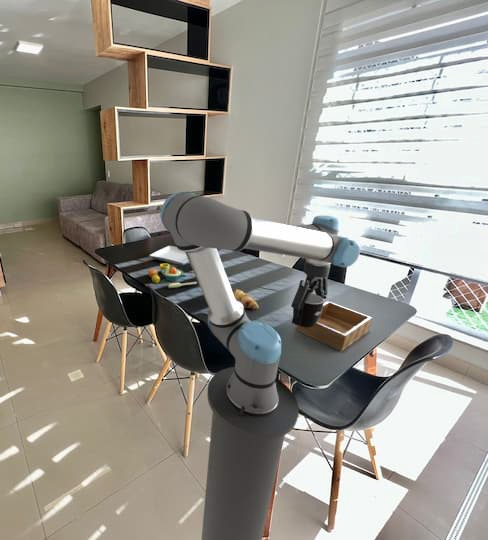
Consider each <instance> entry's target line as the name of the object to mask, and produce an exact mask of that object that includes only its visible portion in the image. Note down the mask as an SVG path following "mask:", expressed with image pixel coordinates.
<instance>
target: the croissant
mask: <svg viewBox="0 0 488 540" xmlns="http://www.w3.org/2000/svg"><path fill="white" fill-rule="evenodd" d="M232 292H233V294H234V297H235V300H238V301H239V302H241V303H242V305H243V307H244V309H251V310H258V309H259V305H258V303H257V302H256V301H255V300H253V297H251V295H247V294H245V292H244V291H243V290H241V289H237V288H234V289H232Z"/></svg>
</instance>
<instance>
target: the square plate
mask: <svg viewBox="0 0 488 540" xmlns="http://www.w3.org/2000/svg"><path fill="white" fill-rule="evenodd" d="M149 257H150V258H152V259H154V260H158V261H161V262H165V263H168V264H172V265H173V264H174V265H179V266H181V265H182V266H183V265H185V264H187V262H189V260H188V258H187V255H186V253H185V252H183V251H180V250H179V249H178V248H177V246H174V245H167V246H165V247H162V248H161V249H159V250H156V251H155V252H152V253H151V254H149Z"/></svg>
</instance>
